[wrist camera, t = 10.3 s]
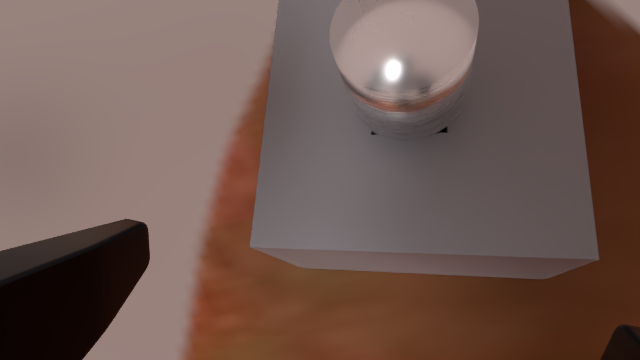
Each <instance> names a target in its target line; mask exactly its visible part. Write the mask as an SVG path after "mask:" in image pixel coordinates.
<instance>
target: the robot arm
mask: <svg viewBox="0 0 640 360" xmlns="http://www.w3.org/2000/svg"><path fill="white" fill-rule="evenodd" d="M149 259H150V251H149V235H148V227H147V225H146V224H145V223H143V222H139V221H134V220H130V219H124V220H120V221H116V222H113V223H109V224H104V225H101V226H97V227H93V228H89V229H85V230H81V231H77V232H73V233H69V234H65V235H61V236H57V237H53V238H49V239H46V240H42V241H38V242H34V243H30V244H26V245H22V246H18V247H14V248H10V249H6V250H2V251H0V360H82V359H83V358H84V357H85V356H86V354H87V353H88V352H89V351H90V349H91V348H92V347H93V346H94V345H95V343H96V342H97V341H98V339H99V338H100V337H101V335H102V334H103V333H104V332H105V330H106V329H107V328H108V326H109V325H110V323H111V322H112V321H113V319H114V318H115V316H116V315H117V313H118V311H119V310H120V308H121V307H122V305H123V304H124V302H125V301H126V299H127V298H128V296H129V295H130V293H131V292H132V290H133V289H134V287H135V285H136V284H137V282H138V281H139V279H140V278H141V276H142V275H143V273H144V272H145V270H146V268H147V266H148V264H149ZM601 360H640V328H639V327H635V326H630V325H625V324H623V325H620V326H618V327H617V328H616V329H615V331H614V332H613V335H612V337H611V339H610V341H609V343H608V345H607V347H606V349H605V351H604V353H603V355H602V358H601Z"/></svg>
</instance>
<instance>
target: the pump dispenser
mask: <svg viewBox="0 0 640 360" xmlns="http://www.w3.org/2000/svg"><path fill="white" fill-rule="evenodd" d="M341 1H342V0H279V3H278V12H277V20H276V29H275V37H274V46H273V54H272V63H271V71H270V80H269V88H268V97H267V105H266V114H265V122H264V131H263V139H262V148H261V156H260V165H259V173H258V182H257V190H256V199H255V207H254V215H253V224H252V232H251V241H250V247H251V248H253V249H256V250H258V251H261V252H263V253H266V254H268V255H271V256H273V257H276V258H278V259H281V260H283V261H286V262H288V263H291V264H293V265H296V266H298V267H301V268H313V269H334V270H355V271H376V272H397V273H419V274H440V275H461V276H482V277H503V278H524V279H547V278H550V277H553V276H556V275H558V274H561V273H564V272H567V271H570V270H572V269H575V268H578V267H581V266H583V265H586V264H589V263H592V262H594V261H597V260H599V253H598V245H597V236H596V228H595V219H594V211H593V203H592V194H591V186H590V177H589V169H588V161H587V152H586V144H585V135H584V127H583V119H582V110H581V102H580V94H579V85H578V77H577V68H576V60H575V52H574V43H573V35H572V26H571V18H570V10H569V1H568V0H475V2H476V5H477V8H478V14H479V27H478V34H477V40H476V46H475V52H474V59H473V65H472V71H471V78H470V84H469V90H468V95H467V99H466V102H465V104H464V106H463V108H462V110H461V112H460V113H459V114H458V116H457V117H456V118H455V119H454V120H453V121H452V122H451V123H450V124H449V125H448V126H446V127H445V128H444V129H442V130H441V131H439V132H437V133H435V134H433V135H431V136H428V137H425V138H421V139H416V140H407V141H406V140H394V139H389V138H385V137H383V136H380V135H378V134H376V133H374V132H373V131H371V130H370V129H368V128H367V127H366V126H365V125H364V124H363V123H362V122H361V121H360V120H359V118H358V117H357V116H356V114H355V112H354V110H353V107H352V104H351V102H350V99H349V96H348V94H347V91H346V88H345V86H344V83H343V80H342V78H341V75H340V72H339V69H338V67H337V64H336V61H335V59H334V56H333V53H332V50H331V46H330V25H331V21H332V18H333V15H334V13H335V11H336V9H337V7H338V5H339V4H340V2H341Z"/></svg>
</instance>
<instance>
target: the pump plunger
mask: <svg viewBox="0 0 640 360" xmlns="http://www.w3.org/2000/svg"><path fill="white" fill-rule="evenodd" d="M478 27H479V14H478V8H477V5H476V2H475V0H342V1H341V2H340V4H339V5H338V7H337V9H336V11H335V13H334V15H333V18H332V21H331V25H330V46H331V50H332V53H333V56H334V59H335V61H336V64H337V67H338V69H339V72H340V75H341V78H342V80H343V83H344V86H345V88H346V91H347V94H348V96H349V99H350V102H351V104H352V107H353V110H354V112H355V114H356V116H357V117H358V118H359V120H360V121H361V122H362V123H363V124H364V125H365V126H366V127H367V128H368V129H370V130H371V131H373V132H374V133H376V134H378V135H380V136H383V137H385V138H389V139H394V140H406V141H407V140H416V139H421V138H425V137H428V136H431V135H433V134H435V133H437V132H439V131H441V130H442V129H444V128H445V127H446V126H448V125H449V124H450V123H451V122H452V121H453V120H454V119H455V118H456V117H457V116H458V114H459V113H460V112H461V110H462V108H463V106H464V104H465V102H466V99H467V95H468V90H469V84H470V78H471V71H472V65H473V59H474V52H475V46H476V40H477V34H478Z"/></svg>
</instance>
